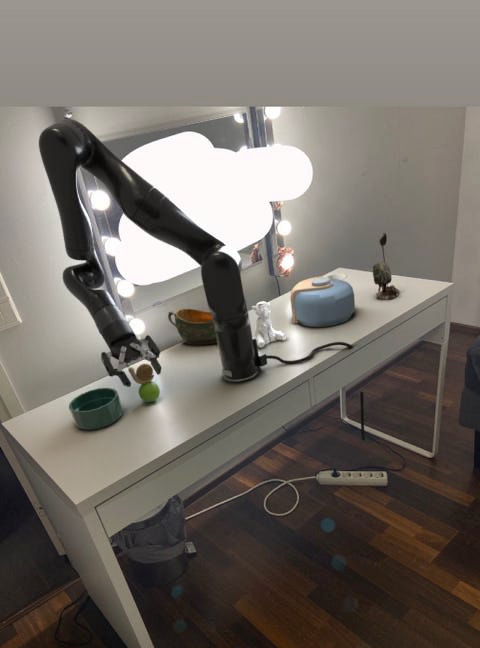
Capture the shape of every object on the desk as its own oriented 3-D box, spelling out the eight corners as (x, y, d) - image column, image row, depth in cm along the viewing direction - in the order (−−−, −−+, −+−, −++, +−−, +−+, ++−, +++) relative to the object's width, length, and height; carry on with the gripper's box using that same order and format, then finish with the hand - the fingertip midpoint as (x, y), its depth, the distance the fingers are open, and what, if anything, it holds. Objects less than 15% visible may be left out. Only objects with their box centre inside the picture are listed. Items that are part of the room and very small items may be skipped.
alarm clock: (316, 303, 172) (313, 268, 165) (366, 309, 158) (365, 272, 152) (281, 323, 161) (276, 287, 155) (332, 331, 148) (329, 292, 142)
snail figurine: (134, 403, 129) (121, 362, 123) (155, 393, 132) (143, 352, 126) (145, 409, 125) (131, 367, 119) (165, 399, 128) (154, 357, 122)
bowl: (113, 401, 133) (106, 383, 130) (131, 416, 124) (125, 397, 121) (70, 420, 127) (62, 401, 125) (86, 437, 118) (78, 417, 116)
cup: (201, 327, 170) (195, 299, 165) (239, 338, 156) (233, 307, 151) (171, 341, 164) (164, 312, 159) (207, 353, 150) (200, 321, 145)
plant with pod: (365, 300, 167) (363, 238, 156) (386, 289, 172) (385, 229, 162) (385, 303, 161) (384, 239, 150) (406, 292, 166) (406, 230, 156)
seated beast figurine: (259, 349, 146) (253, 310, 140) (246, 341, 153) (240, 304, 147) (287, 339, 149) (282, 301, 143) (273, 332, 156) (268, 295, 149)
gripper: (88, 329, 121) (120, 383, 118) (140, 310, 127) (171, 362, 124) (88, 344, 128) (118, 396, 125) (137, 326, 134) (166, 375, 131)
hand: (144, 379), depth 125 cm, fingers open, 8 cm apart
